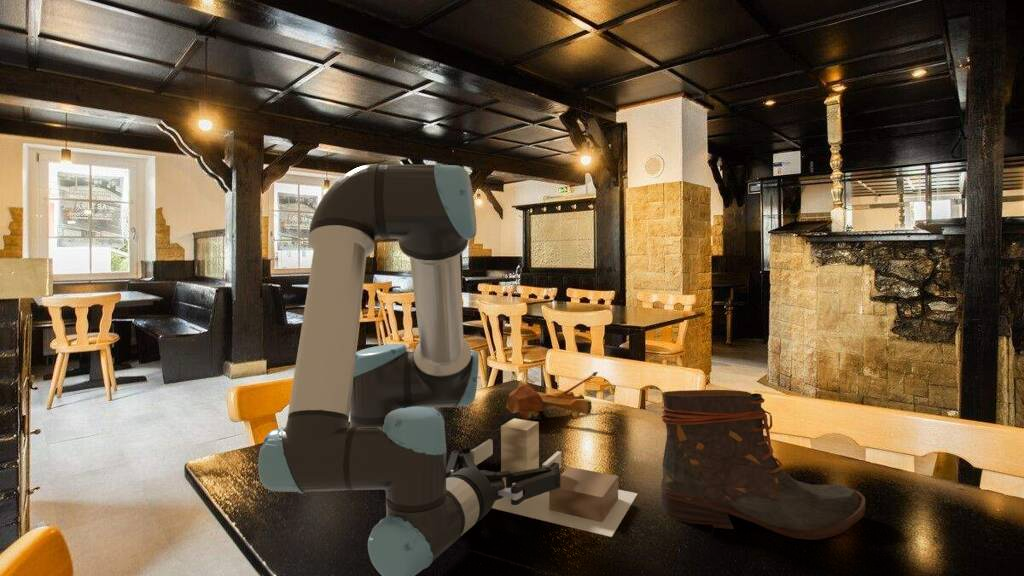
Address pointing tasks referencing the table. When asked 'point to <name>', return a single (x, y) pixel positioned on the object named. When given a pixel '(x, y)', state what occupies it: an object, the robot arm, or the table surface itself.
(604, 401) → the table surface
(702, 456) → the ankle boot
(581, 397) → the toy
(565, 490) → the plinth
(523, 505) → the white flat panel
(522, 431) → the column
